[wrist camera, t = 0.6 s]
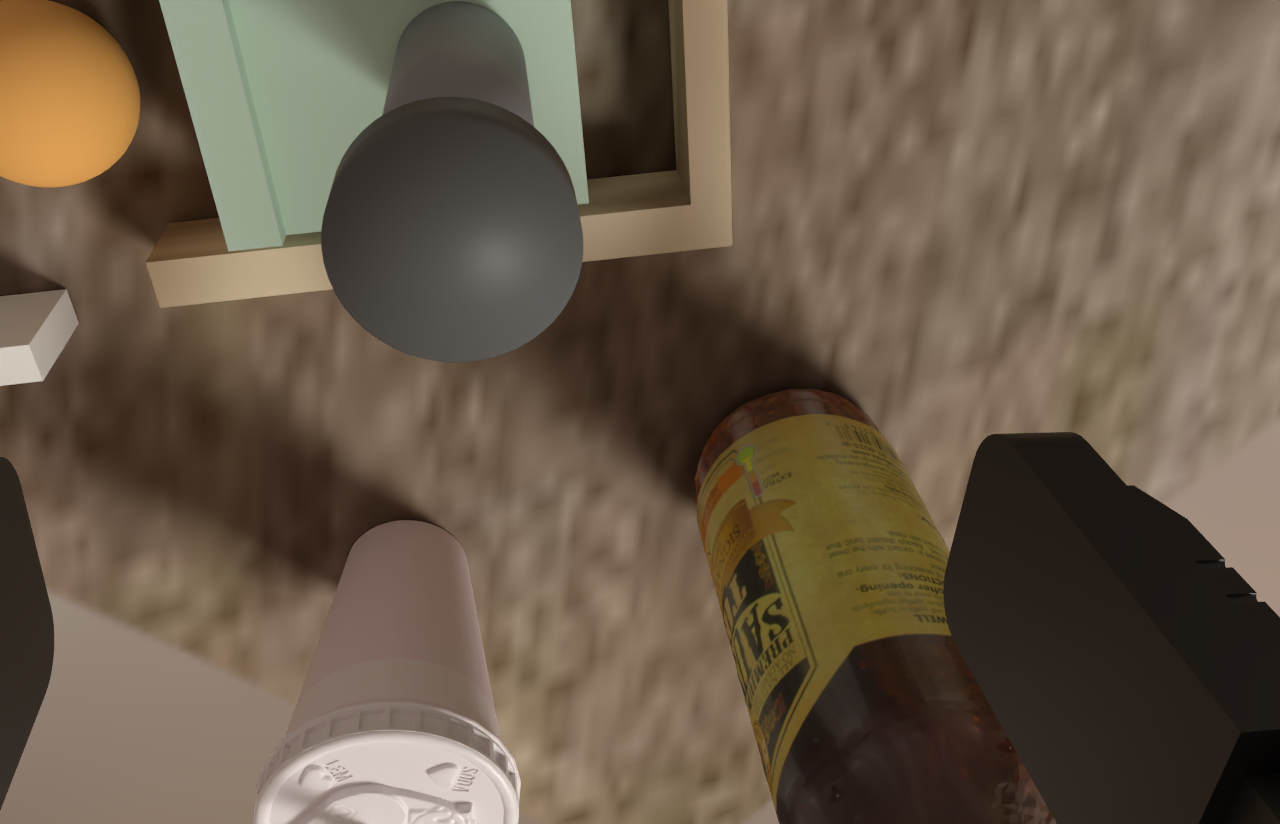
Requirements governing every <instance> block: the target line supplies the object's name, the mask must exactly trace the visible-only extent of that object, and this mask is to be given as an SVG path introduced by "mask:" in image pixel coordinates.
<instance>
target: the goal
mask: <svg viewBox="0 0 1280 824" xmlns="http://www.w3.org/2000/svg"><path fill="white" fill-rule="evenodd" d="M78 324H79V322H78V319H77V317H76V314H75V311H74V308H73V306H72V303H71V300H70V298H69V295H68V292H67V289H64V290H54V291H45V292H36V293H26V294H17V295H8V296H0V386H3V385H12V384H21V383H30V382H39V381H43V380H44V379H45V377H46V376H47V374H48V372H49V371H50V369H51V368H52V366H53V364H54V363H55V361H56V360H57V358H58V356H59V355H60V353H61V351H62V350H63V348H64V347H65V345H66V343H67V342H68V340H69V339H70V337H71V335H72V334H73V332H74V331H75V329H76V327H77V326H78Z"/></svg>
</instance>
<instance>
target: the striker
mask: <svg viewBox="0 0 1280 824" xmlns="http://www.w3.org/2000/svg"><path fill="white" fill-rule="evenodd" d="M159 2H160V5H161V9H162V13H163V16H164V20H165V23H166V27H167V31H168V34H169V38H170V41H171V45H172V49H173V52H174V56H175V60H176V63H177V67H178V70H179V74H180V78H181V81H182V85H183V89H184V92H185V96H186V99H187V103H188V107H189V110H190V114H191V117H192V121H193V125H194V128H195V132H196V136H197V139H198V143H199V146H200V150H201V154H202V157H203V161H204V164H205V168H206V172H207V175H208V179H209V183H210V186H211V190H212V193H213V197H214V201H215V204H216V208H217V211H218V215H219V219H220V222H221V226H222V230H223V233H224V237H225V240H226V244H227V248H228V251H238V250H247V249H257V248H266V247H276V246H283V243H284V240H285V237H286V235H292V234H302V233H311V232H321V249H322V255H323V262H324V266H325V269H326V272H327V276H328V279H329V281H330V283H331V285H332V288H333V290H334V292H335V294H336V295H337V297H338V299H339V300H340V302H341V303H342V305H343V306H344V308H345V309H346V310H347V311H348V312H349V314H350V315H351V316H352V317H353V318H354V320H356V321H357V322H358V323H359V324H360V325H361V326H362V327H363V328H364V329H365V330H366V331H368V332H369V333H370V334H372V335H373V336H375V337H376V338H377V339H379V340H380V341H382V342H384V343H386V344H387V345H389V346H391V347H393V348H395V349H397V350H400V351H402V352H405V353H407V354H410V355H413V356H417V357H420V358H424V359H429V360H435V361H442V362H470V361H478V360H483V359H489V358H492V357H496V356H499V355H502V354H505V353H507V352H510V351H512V350H515V349H517V348H519V347H521V346H522V345H524V344H526V343H528V342H529V341H531V340H532V339H534V338H535V337H536V336H538V335H539V334H540V333H542V332H543V331H544V330H545V329H546V328H547V327H548V326H549V325H550V324H551V323H552V322H553V321H554V320H555V319H556V318H557V317H558V316H559V314H560V313H561V312H562V310H563V309H564V308H565V306H566V304H567V303H568V301H569V299H570V298H571V296H572V294H573V291H574V289H575V287H576V284H577V282H578V279H579V275H580V271H581V267H582V260H583V232H582V226H581V220H580V215H579V210H578V205H577V204H587V203H589V197H588V186H587V175H586V165H585V154H584V143H583V132H582V121H581V110H580V99H579V88H578V77H577V66H576V55H575V44H574V34H573V23H572V12H571V1H570V0H159Z"/></svg>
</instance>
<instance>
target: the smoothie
mask: <svg viewBox="0 0 1280 824" xmlns="http://www.w3.org/2000/svg"><path fill="white" fill-rule="evenodd" d="M520 786H521V779H520V776H519V773H518V769H517V766H516V762H515V759H514V757H513V756H512V754H511V753H510V752H509V750H508V749H507V748H506V746H505V745H504V744H503V742H502V741H501V740H500V735H499V728H498V722H497V717H496V714H495V709H494V704H493V698H492V693H491V687H490V682H489V677H488V671H487V666H486V660H485V655H484V650H483V644H482V639H481V634H480V628H479V623H478V617H477V612H476V607H475V601H474V596H473V591H472V585H471V580H470V574H469V569H468V564H467V558H466V555H465V552H464V550H463V548H462V547H461V545H460V544H459V542H458V541H457V540H456V539H455V538H454V537H453V536H452V535H451V534H449V533H448V532H447V531H445V530H443V529H442V528H440V527H437V526H435V525H432V524H430V523H426V522H421V521H414V520H399V521H392V522H388V523H384V524H381V525H379V526H376V527H374V528H372V529H371V530H369V531H367V532H366V533H365V534H363V535H362V536H361V537H360V538H359V539H358V540H357V541H356V542H355V544H354V545H353V547H352V548H351V550H350V553H349V555H348V558H347V561H346V564H345V567H344V570H343V572H342V575H341V578H340V581H339V584H338V587H337V590H336V593H335V595H334V598H333V601H332V604H331V607H330V610H329V613H328V616H327V618H326V621H325V624H324V627H323V630H322V633H321V636H320V639H319V642H318V644H317V647H316V650H315V653H314V656H313V659H312V662H311V665H310V667H309V670H308V673H307V676H306V679H305V682H304V685H303V688H302V690H301V693H300V696H299V699H298V702H297V705H296V708H295V710H294V712H293V715H292V718H291V721H290V724H289V727H288V730H287V733H286V736H285V737H284V738H283V739H282V740H281V741H280V742H279V743H278V745H277V746H276V747H275V748H274V750H273V751H272V752H271V753H270V755H269V756H268V757H267V759H266V760H265V762H264V764H263V767H262V770H261V773H260V776H259V779H258V782H257V800H256V805H255V809H254V824H518V819H519V796H520Z"/></svg>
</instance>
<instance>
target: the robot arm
mask: <svg viewBox="0 0 1280 824" xmlns="http://www.w3.org/2000/svg"><path fill="white" fill-rule="evenodd" d="M943 595H944V608H945V614H946V619H947V623H948V627H949V630H950V633H951V636H952V638H953V640H954V642H955V644H956V646H957V648H958V650H959V651H960V653H961V655H962V657H963V658H964V660H965V662H966V664H967V665H968V667H969V669H970V671H971V673H972V674H973V676H974V678H975V680H976V681H977V683H978V685H979V687H980V688H981V690H982V692H983V694H984V696H985V697H986V699H987V701H988V703H989V704H990V706H991V708H992V710H993V711H994V713H995V715H996V717H997V719H998V720H999V722H1000V724H1001V726H1002V727H1003V729H1004V731H1005V733H1006V734H1007V736H1008V738H1009V740H1010V742H1011V743H1012V745H1013V747H1014V749H1015V750H1016V752H1017V754H1018V756H1019V757H1020V759H1021V761H1022V763H1023V765H1024V766H1025V768H1026V770H1027V772H1028V773H1029V775H1030V777H1031V779H1032V780H1033V782H1034V784H1035V786H1036V788H1037V789H1038V791H1039V793H1040V795H1041V796H1042V798H1043V800H1044V802H1045V803H1046V805H1047V807H1048V809H1049V810H1050V812H1051V814H1052V816H1053V818H1054V819H1055V821H1056V823H1057V824H1280V617H1279V616H1278V615H1277V614H1276V613H1275V612H1274V611H1273V610H1272V609H1271V608H1270V607H1269V606H1268V605H1267V604H1266V602H1258V601H1257V599H1256V592H1255V591H1254V590H1253V589H1252V588H1251V587H1250V585H1249V584H1248V583H1247V582H1246V581H1245V580H1244V579H1243V578H1242V577H1241V576H1240V575H1239V574H1238V573H1237V572H1236V570H1235V569H1234V568H1226V567H1225V559H1224V558H1223V557H1222V556H1221V555H1220V554H1219V553H1218V551H1217V550H1216V549H1215V548H1214V547H1213V546H1212V545H1211V544H1210V543H1209V542H1208V541H1207V540H1206V539H1205V538H1204V536H1203V535H1202V534H1201V533H1200V532H1199V531H1198V530H1197V529H1196V528H1195V527H1194V526H1193V525H1192V524H1191V523H1190V522H1189V521H1188V519H1186V518H1185V517H1183V516H1181V515H1180V514H1178V513H1177V512H1175V511H1173V510H1172V509H1170V508H1169V507H1167V506H1166V505H1164V504H1162V503H1161V502H1159V501H1158V500H1156V499H1154V498H1153V497H1151V496H1150V495H1148V494H1146V493H1145V492H1143V491H1142V490H1140V489H1138V488H1137V487H1135V486H1134V485H1133V486H1127V485H1126V484H1125V483H1124V482H1123V481H1122V480H1121V479H1120V478H1119V476H1118V475H1117V474H1116V473H1115V472H1114V471H1113V470H1112V469H1111V468H1110V466H1109V465H1108V464H1107V463H1106V462H1105V461H1104V460H1103V459H1102V458H1101V457H1100V455H1099V454H1098V453H1097V452H1096V451H1095V450H1094V449H1093V448H1092V447H1091V445H1090V444H1089V443H1088V442H1087V441H1086V440H1085V439H1084V438H1083V437H1082V436H1080V435H1078V434H1076V433H1072V432H1056V433H1017V434H992V435H990V436H988V437H986V438H985V439H984V440H983V441H982V443H981V444H980V446H979V448H978V450H977V452H976V455H975V458H974V461H973V465H972V469H971V473H970V477H969V481H968V485H967V489H966V492H965V496H964V500H963V504H962V508H961V512H960V516H959V520H958V523H957V527H956V531H955V535H954V539H953V543H952V547H951V551H950V554H949V558H948V562H947V566H946V571H945V576H944V588H943ZM53 655H54V624H53V617H52V611H51V606H50V602H49V598H48V594H47V590H46V585H45V581H44V577H43V573H42V569H41V565H40V561H39V557H38V553H37V549H36V545H35V541H34V537H33V533H32V529H31V525H30V520H29V516H28V512H27V508H26V504H25V500H24V496H23V492H22V488H21V484H20V481H19V478H18V475H17V473H16V470H15V469H14V467H13V465H12V464H11V463H10V462H9V461H8V460H7V459H6V458H4V457H0V810H1V807H2V804H3V802H4V799H5V797H6V794H7V792H8V789H9V786H10V784H11V781H12V779H13V776H14V774H15V771H16V768H17V766H18V763H19V760H20V758H21V756H22V753H23V750H24V748H25V745H26V743H27V740H28V737H29V735H30V732H31V729H32V727H33V725H34V722H35V719H36V717H37V714H38V712H39V709H40V707H41V704H42V701H43V699H44V696H45V694H46V691H47V688H48V684H49V680H50V676H51V671H52V664H53Z"/></svg>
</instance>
